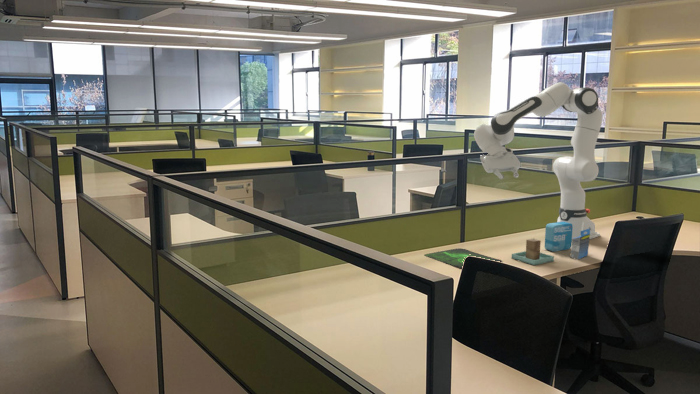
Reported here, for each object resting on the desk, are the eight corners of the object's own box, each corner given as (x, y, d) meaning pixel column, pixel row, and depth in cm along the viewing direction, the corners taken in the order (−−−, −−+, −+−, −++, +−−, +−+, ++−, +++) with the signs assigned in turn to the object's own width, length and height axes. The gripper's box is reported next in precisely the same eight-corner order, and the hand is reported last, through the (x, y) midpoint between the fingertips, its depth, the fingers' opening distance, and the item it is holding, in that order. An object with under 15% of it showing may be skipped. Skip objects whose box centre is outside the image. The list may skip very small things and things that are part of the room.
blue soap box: (551, 252, 252) (553, 225, 249) (544, 249, 256) (545, 223, 253) (571, 249, 257) (573, 223, 255) (563, 246, 261) (565, 221, 259)
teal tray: (531, 254, 248) (531, 250, 247) (553, 261, 237) (553, 256, 237) (511, 258, 242) (511, 253, 241) (533, 265, 231) (533, 260, 231)
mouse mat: (421, 255, 248) (421, 253, 248) (459, 248, 259) (459, 246, 259) (464, 271, 225) (464, 269, 225) (504, 263, 236) (504, 260, 236)
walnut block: (532, 256, 242) (533, 238, 241) (539, 259, 239) (540, 240, 237) (525, 258, 240) (526, 239, 239) (532, 260, 237) (534, 241, 235)
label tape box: (579, 253, 249) (581, 226, 246) (588, 255, 246) (590, 228, 243) (569, 257, 243) (571, 229, 240) (579, 259, 240) (581, 231, 238)
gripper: (482, 151, 259) (496, 174, 252) (514, 149, 269) (529, 171, 263) (474, 159, 263) (489, 183, 257) (506, 157, 274) (521, 180, 267)
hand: (509, 177), depth 260 cm, fingers open, 8 cm apart
